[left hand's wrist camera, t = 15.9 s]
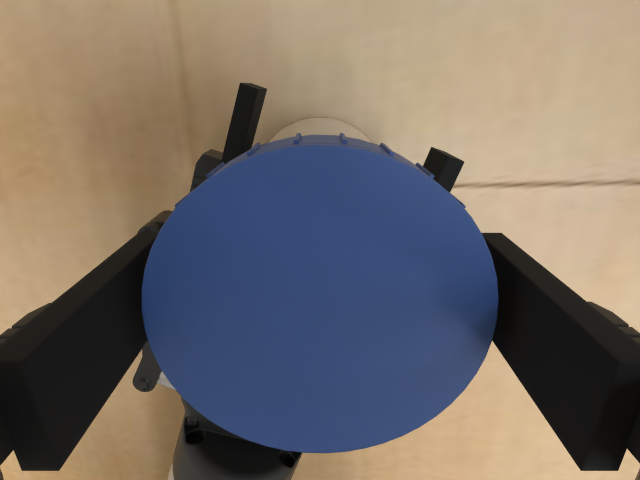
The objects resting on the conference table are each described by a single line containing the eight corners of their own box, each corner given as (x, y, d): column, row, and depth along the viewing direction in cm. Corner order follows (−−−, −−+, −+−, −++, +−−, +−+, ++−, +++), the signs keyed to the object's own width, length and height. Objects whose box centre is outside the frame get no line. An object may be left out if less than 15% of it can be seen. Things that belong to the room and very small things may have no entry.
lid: (241, 64, 10) (222, 58, 8) (536, 228, 12) (580, 257, 10) (127, 339, 13) (93, 384, 11) (373, 438, 15) (381, 492, 13)
